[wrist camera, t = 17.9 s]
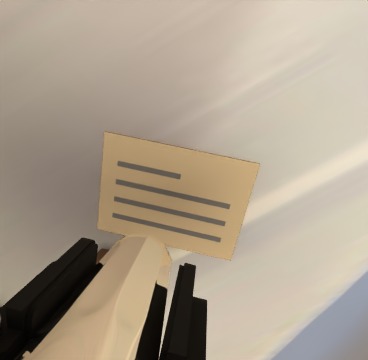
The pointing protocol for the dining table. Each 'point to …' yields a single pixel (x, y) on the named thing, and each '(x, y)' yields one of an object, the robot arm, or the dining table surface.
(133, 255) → the milkshake
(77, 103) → the dining table surface
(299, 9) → the dining table surface
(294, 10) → the dining table surface
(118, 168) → the letter
